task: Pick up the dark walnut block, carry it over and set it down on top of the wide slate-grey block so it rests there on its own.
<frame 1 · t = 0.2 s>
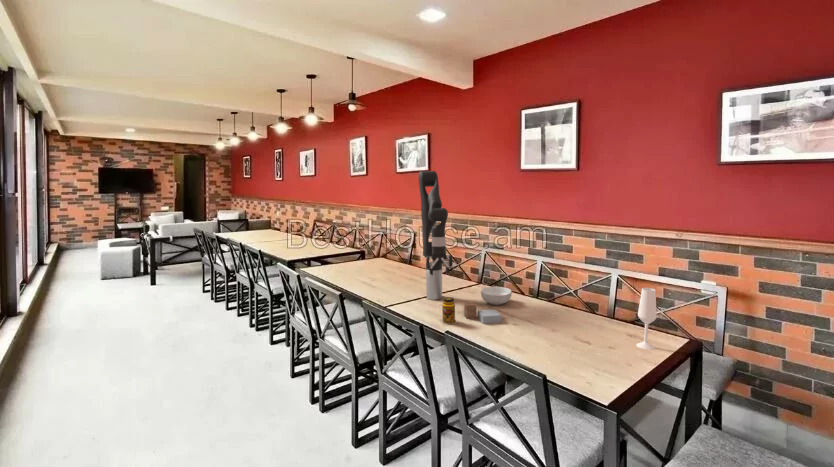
hand: (439, 274, 228), 17 cm above the table, tool pointing down, fingers open, 8 cm apart
condiment: (448, 321, 205), on the table
slate base: (489, 320, 206), on the table
walnut block: (470, 317, 211), on the table
champagne flute: (645, 346, 171), on the table
cereal bowl: (496, 303, 233), on the table
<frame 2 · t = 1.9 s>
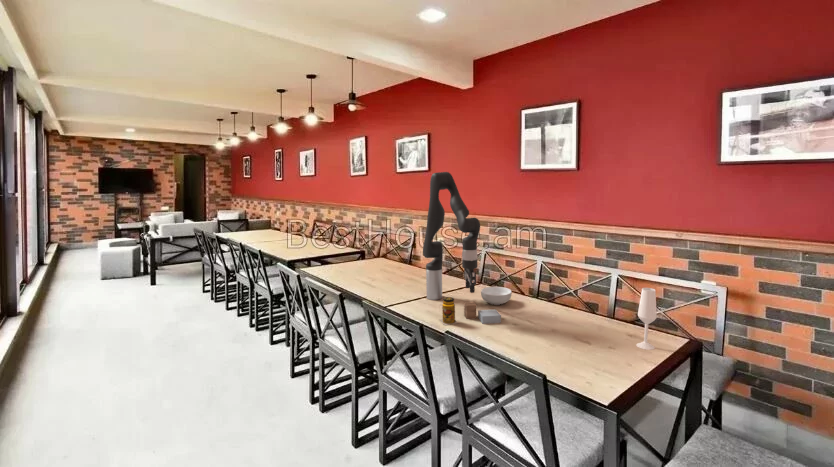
hand: (470, 290, 208), 14 cm above the table, tool pointing down, fingers open, 8 cm apart
nothing on the table moved.
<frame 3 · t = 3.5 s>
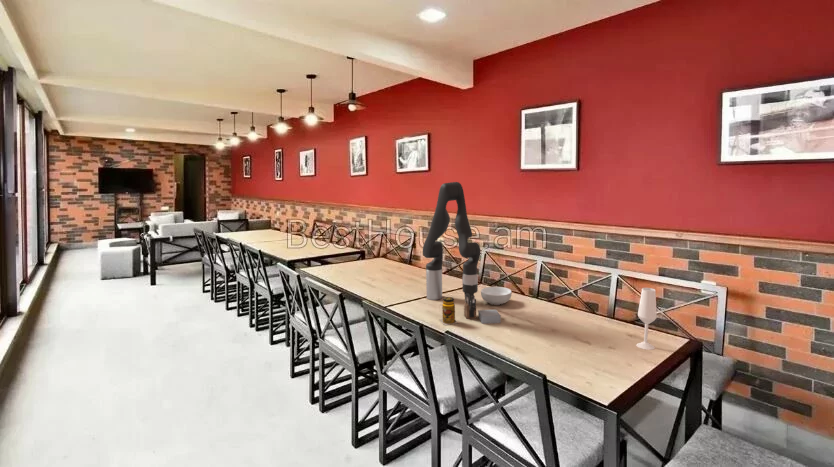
hand: (470, 315, 210), 1 cm above the table, tool pointing down, fingers closed on walnut block, 5 cm apart
walnut block: (470, 317, 211), on the table, touching gripper
everything else where it was.
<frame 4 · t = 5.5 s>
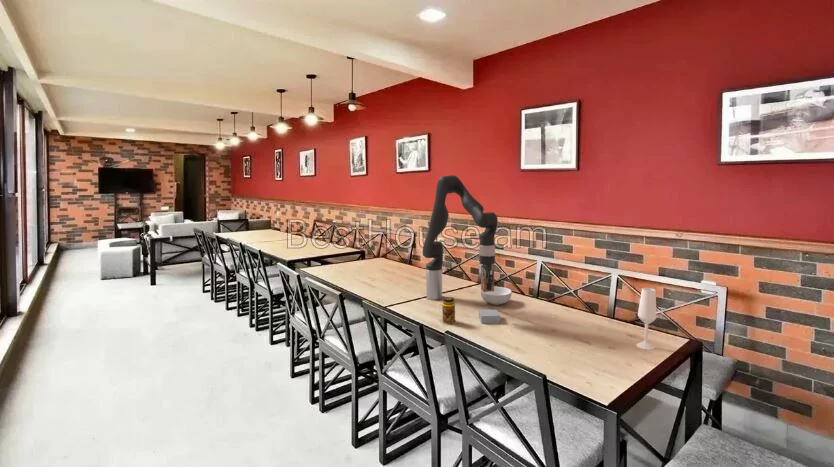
hand: (487, 288, 203), 16 cm above the table, tool pointing down, fingers closed on walnut block, 5 cm apart
walnut block: (487, 290, 203), point 15 cm above the table, touching gripper
everything else where it was.
when the fingers open (6 cm above the table, at t = 7.7 s): walnut block drops 2 cm, point 4 cm above the table.
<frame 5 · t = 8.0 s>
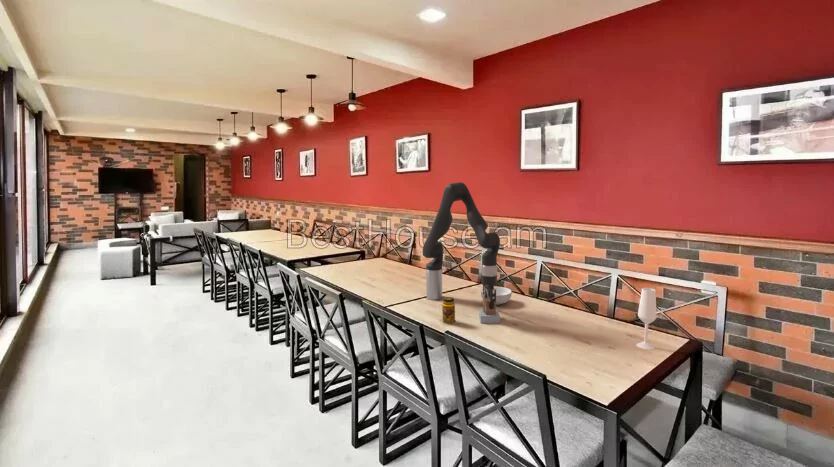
hand: (489, 306, 205), 7 cm above the table, tool pointing down, fingers open, 7 cm apart
walnut block: (489, 312, 205), point 4 cm above the table
everything else where it was.
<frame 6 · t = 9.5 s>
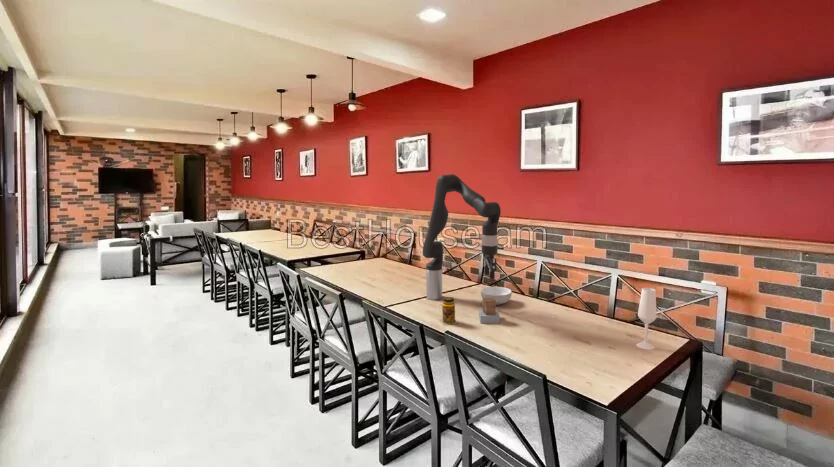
hand: (489, 276, 203), 22 cm above the table, tool pointing down, fingers open, 8 cm apart
slate base: (488, 320, 206), on the table, touching walnut block
walnut block: (489, 312, 205), point 4 cm above the table, touching slate base
everything else where it was.
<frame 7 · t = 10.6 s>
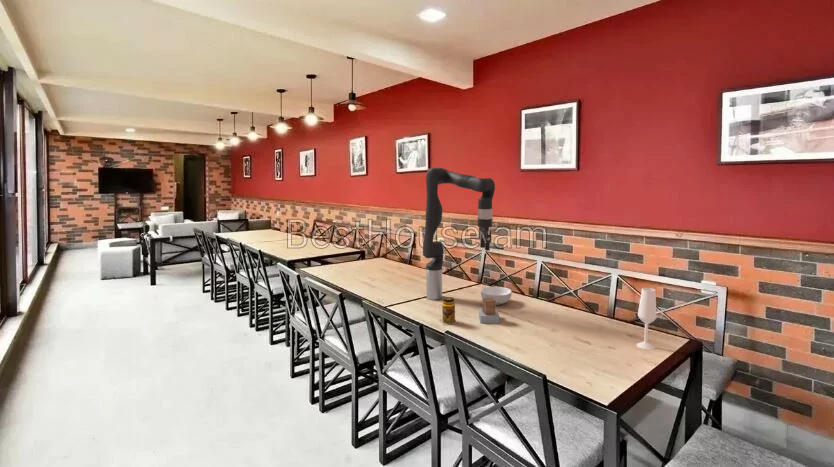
hand: (484, 249, 215), 33 cm above the table, tool pointing down, fingers open, 8 cm apart
nothing on the table moved.
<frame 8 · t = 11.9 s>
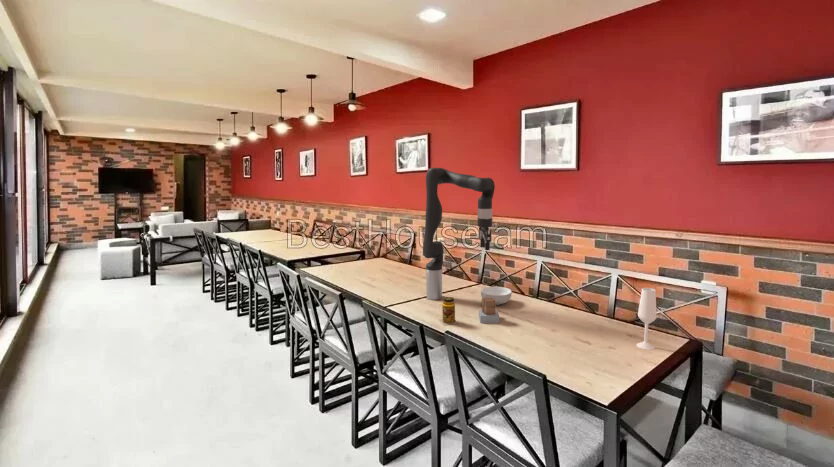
hand: (484, 248, 215), 33 cm above the table, tool pointing down, fingers open, 8 cm apart
nothing on the table moved.
at the end: walnut block inside the target area on the slate base (0.4 cm from its centre), point 4.0 cm above the slate base's base; walnut block tilted 0°; the gripper is holding nothing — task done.
